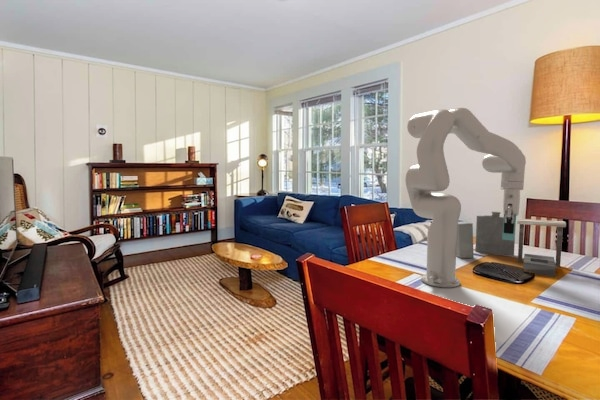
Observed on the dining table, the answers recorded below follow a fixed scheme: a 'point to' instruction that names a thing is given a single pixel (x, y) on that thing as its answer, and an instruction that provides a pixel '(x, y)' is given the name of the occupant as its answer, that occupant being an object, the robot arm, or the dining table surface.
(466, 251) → the skincare box
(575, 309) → the dining table surface
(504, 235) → the peg
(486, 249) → the hip flask
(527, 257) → the socket stand
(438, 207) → the robot arm
